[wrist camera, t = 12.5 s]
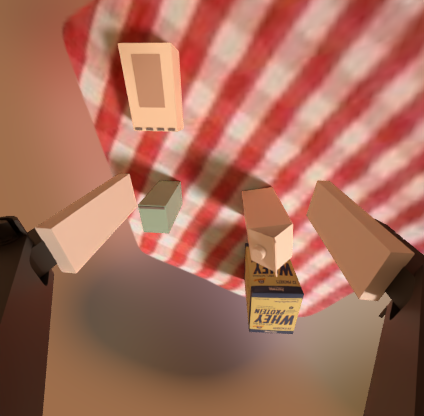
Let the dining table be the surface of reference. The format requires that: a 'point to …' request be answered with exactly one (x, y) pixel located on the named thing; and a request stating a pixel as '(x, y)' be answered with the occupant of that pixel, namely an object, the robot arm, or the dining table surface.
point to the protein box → (271, 297)
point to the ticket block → (153, 85)
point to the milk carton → (267, 228)
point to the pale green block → (161, 207)
